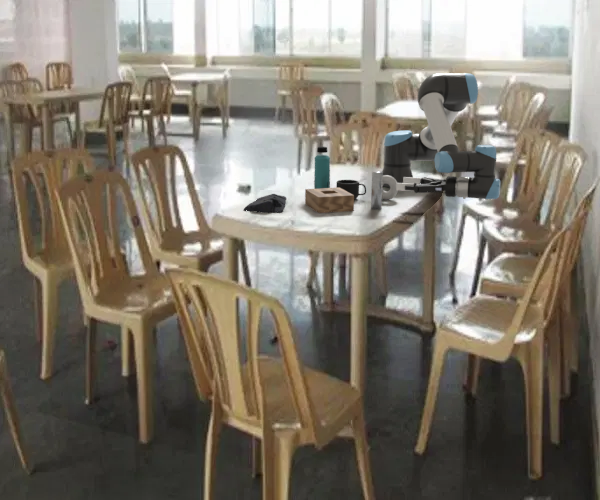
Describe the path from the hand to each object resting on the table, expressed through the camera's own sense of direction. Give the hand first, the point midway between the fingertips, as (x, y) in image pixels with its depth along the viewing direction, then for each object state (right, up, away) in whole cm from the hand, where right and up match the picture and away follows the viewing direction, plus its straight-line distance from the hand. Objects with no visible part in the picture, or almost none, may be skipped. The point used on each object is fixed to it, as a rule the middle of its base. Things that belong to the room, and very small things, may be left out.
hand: (399, 183), depth 316 cm
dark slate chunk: (-50, -9, +7) cm, 51 cm away
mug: (-17, -5, +22) cm, 28 cm away
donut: (-3, -5, +21) cm, 22 cm away
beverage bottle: (-29, -3, +29) cm, 41 cm away
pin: (-8, -9, +5) cm, 14 cm away
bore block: (-26, -9, +6) cm, 28 cm away
